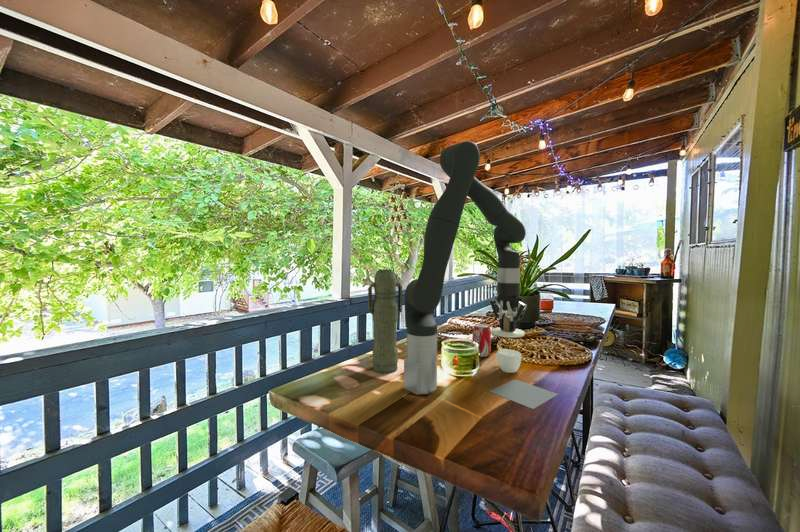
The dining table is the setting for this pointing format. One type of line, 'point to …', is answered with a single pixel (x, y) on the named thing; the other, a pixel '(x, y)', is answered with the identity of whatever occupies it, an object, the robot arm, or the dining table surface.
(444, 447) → the dining table surface
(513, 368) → the cup
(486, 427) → the dining table surface
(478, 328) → the soda can
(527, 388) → the mat
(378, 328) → the thermos
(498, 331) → the lid
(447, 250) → the robot arm
